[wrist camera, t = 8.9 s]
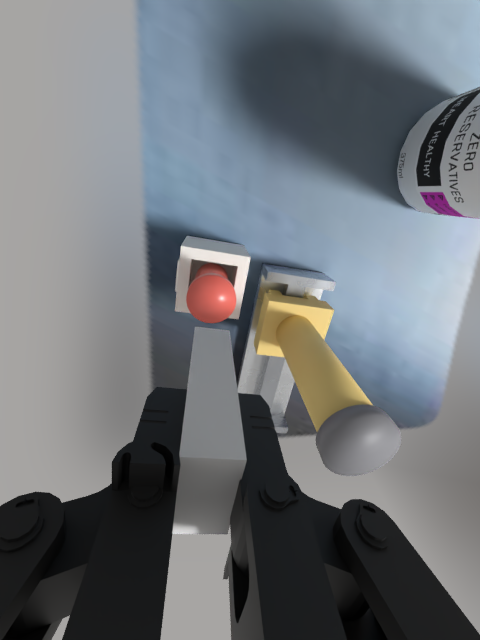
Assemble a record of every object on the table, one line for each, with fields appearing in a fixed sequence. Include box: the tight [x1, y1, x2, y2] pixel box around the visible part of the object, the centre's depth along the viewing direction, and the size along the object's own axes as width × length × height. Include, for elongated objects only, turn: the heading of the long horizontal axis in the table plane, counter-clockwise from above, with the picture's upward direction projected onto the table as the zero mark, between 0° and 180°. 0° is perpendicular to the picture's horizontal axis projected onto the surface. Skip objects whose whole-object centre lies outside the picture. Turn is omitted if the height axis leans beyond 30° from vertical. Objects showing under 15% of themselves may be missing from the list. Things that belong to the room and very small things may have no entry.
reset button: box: [186, 263, 236, 323], centre depth 20 cm, size 3×3×5 cm
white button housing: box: [175, 236, 251, 319], centre depth 23 cm, size 5×5×5 cm
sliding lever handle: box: [254, 289, 401, 476], centre depth 20 cm, size 5×6×15 cm
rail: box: [237, 263, 336, 433], centre depth 28 cm, size 17×6×3 cm, turn 170°
